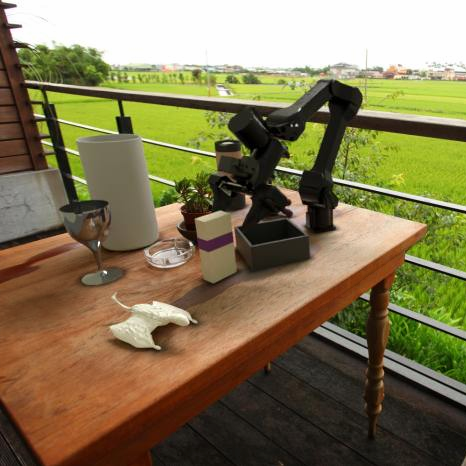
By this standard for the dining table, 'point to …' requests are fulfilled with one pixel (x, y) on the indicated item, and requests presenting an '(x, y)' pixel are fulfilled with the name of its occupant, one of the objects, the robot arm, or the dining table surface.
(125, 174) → the cylinder vase
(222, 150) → the travel mug
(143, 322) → the winged dragon toy
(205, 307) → the dining table surface
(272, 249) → the open storage bin
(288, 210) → the brown animal figurine
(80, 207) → the silver goblet
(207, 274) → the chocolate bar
